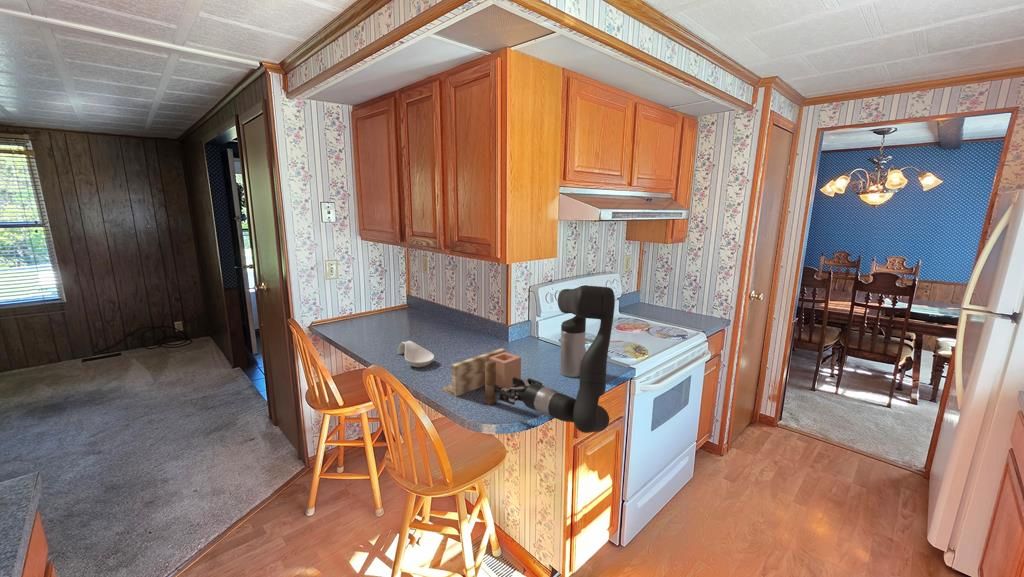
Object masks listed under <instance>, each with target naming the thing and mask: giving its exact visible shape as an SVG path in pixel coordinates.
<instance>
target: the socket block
mask: <svg viewBox="0 0 1024 577" xmlns="http://www.w3.org/2000/svg"><path fill="white" fill-rule="evenodd" d="M488 361H495V362H496V385H497V386H500V387H502V388H506V389H509V388H510V387H515V386H516V387H517V385H514V384H513V378H514V377H516V378H518V379H521V380H522V356H519V355H515V354H512V353H509V352H506V351H505V352H502V353H499V354H496V355H494V356H491V357H488Z"/></svg>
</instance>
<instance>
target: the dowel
mask: <svg viewBox="0 0 1024 577" xmlns="http://www.w3.org/2000/svg"><path fill="white" fill-rule="evenodd" d="M495 385H496V362H495V361H486V362H485V385H484V387H485V388H484V390H485V391H484V393H485V394H484V395H485V396H484V397H485V399H484V400H485V405H487V406H494V405H495V404H496V405H497V393H495V392H494V386H495Z"/></svg>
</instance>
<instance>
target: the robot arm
mask: <svg viewBox="0 0 1024 577" xmlns="http://www.w3.org/2000/svg"><path fill="white" fill-rule="evenodd" d="M615 302H616V298H615V292H614V290H613V289H612V288H611V287H609V286H608V287H607V286H596V285H580V286H578V287H575V288H565V289H561V290H560V292H559V294H558V296H557V306H558V309H559V311H560V312H561V313H563V314H571V315H574V316H573V317H572V318H569V319H567V320H564V321H562V322H561V325H560V326H561V327H560V328H561V329H560V330H561V331H560V365H559V366H560V371H559V372H560V374H561V375H562V376H564V377H569V378H578V377H579V387H578V392H577V394H576V398H574V397H572V396H569V395H567V394H565V393H561V392H559V391H557V390H555V389H553V388H550V387H547V386H545V385H543V383H542V382H541V381H538V380H535V379H533V378H531V377H530V378H527V379H522V378H521V379H518V378H516V377H514V378H513V384H514V385H516V387H515V386H513V387H510V388H509V389H506V388H502V387H500V386H497V385H495V386H494V392H495V393H496V395H498V400H499V401H502V402H504V403H507V404H509V405H515V404H516V401H517V402H518V401H520V402H523V403H524V404H523V405H525V407H526V408H527V409H531V410H533V411H535V412H538V413H540V414H543V415H545V416H549V417H552V418H554V419H557V420H559V421H562V422H566V423H573V424H574V426H575V428H576V429H577V430H578V431H579V432H581V433H585V434H590V433H591V434H592V433H599V432H602V431H604V430H606V429H607V428H608V427H609V423H610V416H609V413H608V412H607V410H606V408H604V407H603V406H601V405H599V400H600V397H602V396H603V395H604V394H605V393H606V389H607V387H606V384H607V362H608V354H609V348H610V343H611V341H610V340H611V335H612V329H613V322H614V315H615V308H616V306H615V305H616V303H615ZM587 319H593V320H600V324H599V329H598V331H597V334H596V336H595V337H594V339H593V341H592V342H591V344H590V346H589V347H588V348H587V349H586V325H587Z"/></svg>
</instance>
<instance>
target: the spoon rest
mask: <svg viewBox="0 0 1024 577" xmlns="http://www.w3.org/2000/svg"><path fill="white" fill-rule="evenodd" d="M403 353H404V359H405V361H406V363H407V364H408V365H409V366H412V367H414V368H423V367H427V366H429V365H430V364H431V363H432V362H433V361H434V359H435V355H434V353H433V352H431V351H429V350H427V349H426V348H424V347H422V346H421V345H418V343H416V342H413V341H412V340H406V341H402V342H400V344H399V346H398V347H397V355H403Z"/></svg>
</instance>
